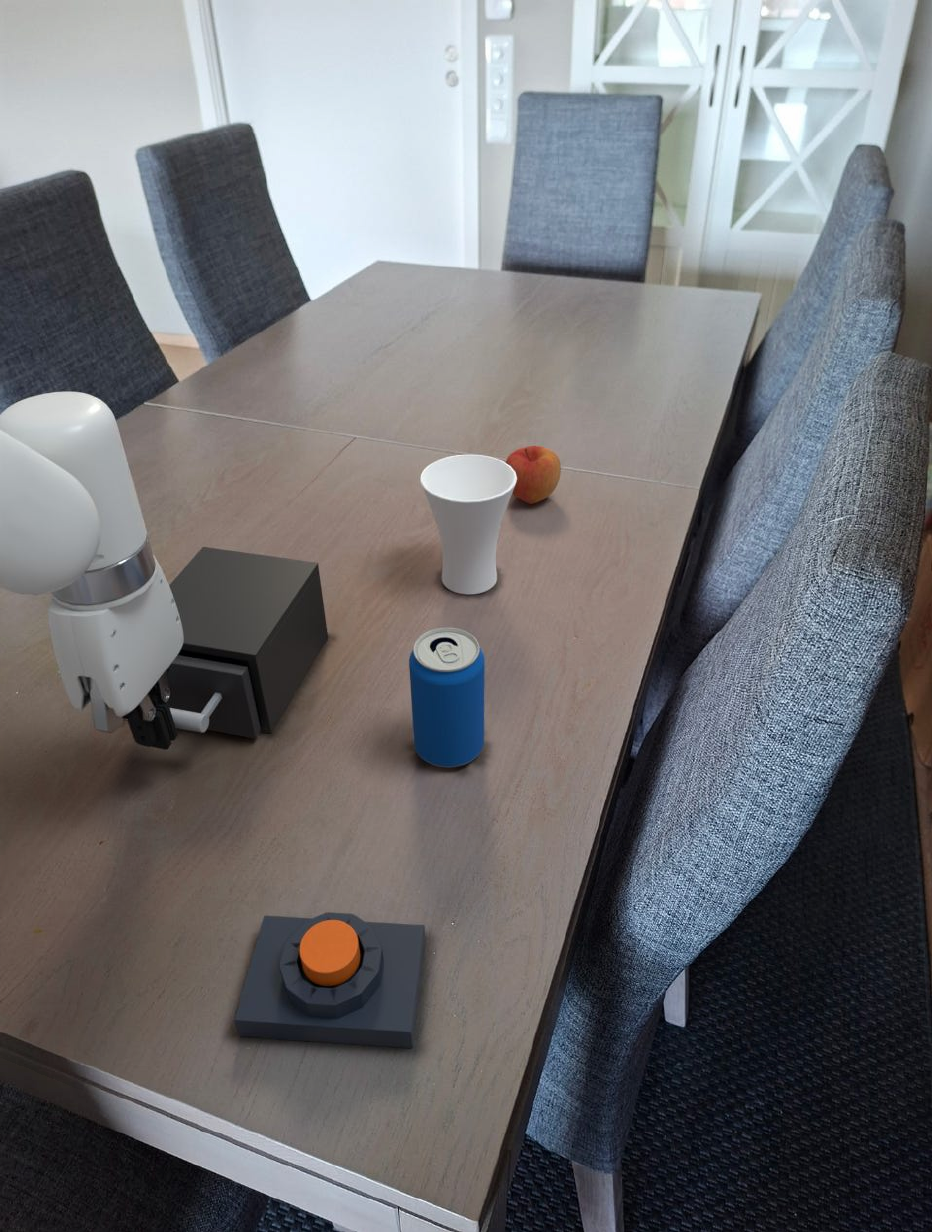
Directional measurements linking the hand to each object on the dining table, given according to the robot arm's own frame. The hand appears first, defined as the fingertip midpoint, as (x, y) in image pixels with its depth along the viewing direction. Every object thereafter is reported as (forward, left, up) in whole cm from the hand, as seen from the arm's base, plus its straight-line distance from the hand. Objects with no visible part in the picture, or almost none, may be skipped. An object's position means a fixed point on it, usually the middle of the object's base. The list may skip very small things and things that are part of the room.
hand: (157, 740), depth 75 cm
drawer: (+2, +10, -4) cm, 11 cm away
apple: (+32, +52, -6) cm, 61 cm away
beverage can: (+25, +6, -6) cm, 26 cm away
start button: (+19, -18, -2) cm, 26 cm away
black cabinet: (+3, +15, -5) cm, 16 cm away
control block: (+19, -18, -5) cm, 27 cm away
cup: (+25, +33, -6) cm, 41 cm away
